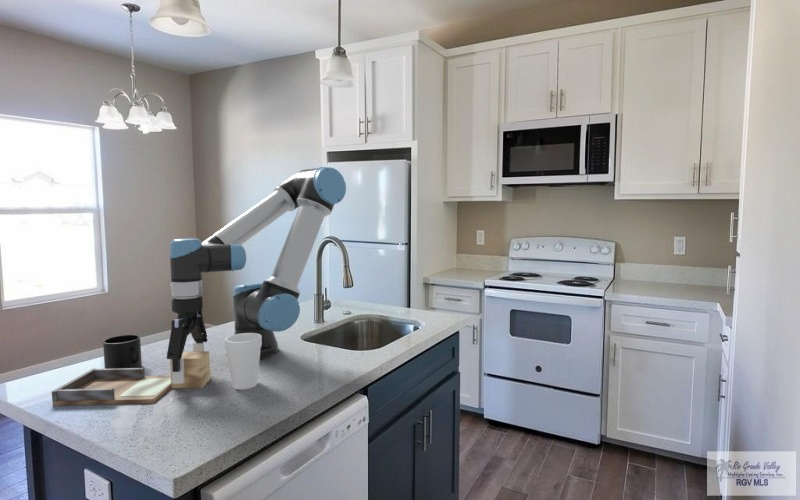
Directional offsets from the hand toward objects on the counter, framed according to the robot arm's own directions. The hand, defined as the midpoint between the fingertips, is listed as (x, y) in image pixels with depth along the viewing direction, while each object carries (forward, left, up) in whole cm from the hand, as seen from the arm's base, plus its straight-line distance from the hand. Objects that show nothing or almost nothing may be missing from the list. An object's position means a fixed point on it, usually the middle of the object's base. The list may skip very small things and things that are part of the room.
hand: (189, 373), depth 124 cm
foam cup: (-15, +2, -3) cm, 16 cm away
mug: (+24, -13, -3) cm, 27 cm away
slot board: (+16, +4, -3) cm, 16 cm away
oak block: (0, 0, -3) cm, 3 cm away
